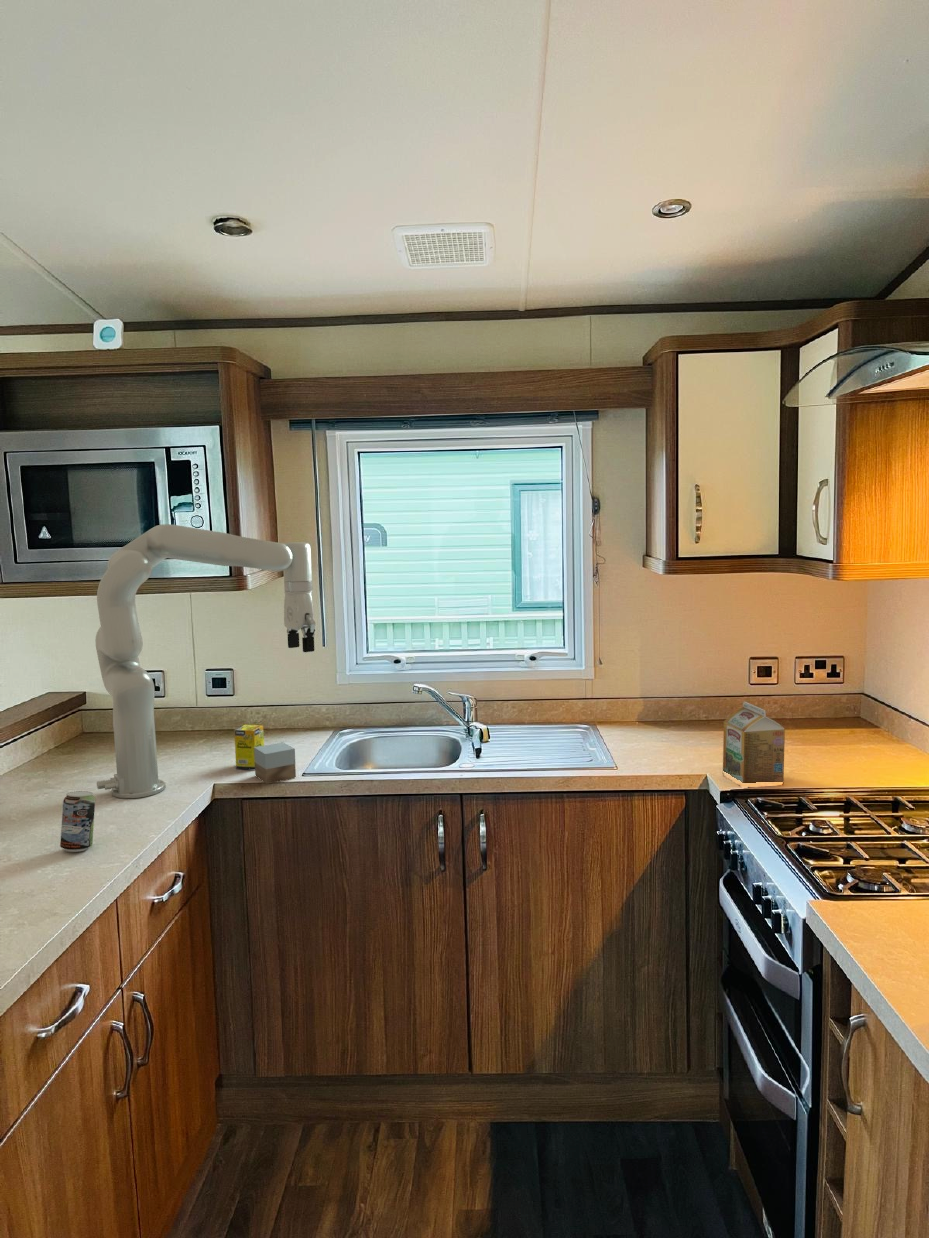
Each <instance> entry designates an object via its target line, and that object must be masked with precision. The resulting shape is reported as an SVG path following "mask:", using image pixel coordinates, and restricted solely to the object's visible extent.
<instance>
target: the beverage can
mask: <svg viewBox="0 0 929 1238" xmlns="http://www.w3.org/2000/svg"><path fill="white" fill-rule="evenodd" d="M93 794H94V793H93V792H92V791H87V790H74V791H69V792H67V793H66V796H65V797H64V799H63V800H62V815H61V827H60V829H61V831H60V845H59V846H60V848H61V849H63V850H64V851H65V852H73V853H76V852H77V853H79V852H83V851H87V850H88V849H89V848H91V847H92V846H93V839H94V826H95V808H96V807H95V806H96V798H95V797H94V795H93Z"/></svg>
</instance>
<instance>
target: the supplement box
mask: <svg viewBox="0 0 929 1238" xmlns="http://www.w3.org/2000/svg"><path fill="white" fill-rule="evenodd" d="M264 735H265V734H264V725H261V724H260V725H257V724H256V725H255V724H243V725H242V726H240V727H239V728H236V729H234V750H235V751H234V752H235V769H236V770H249V769H255V759H254V747H258V746H264V745H265V740H264V739H265V738H264Z"/></svg>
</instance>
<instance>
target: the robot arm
mask: <svg viewBox="0 0 929 1238" xmlns="http://www.w3.org/2000/svg"><path fill="white" fill-rule="evenodd" d="M311 551H312V550H311V545H310V544H309V542H305V541H294V542H293V541H291V542H286V543H281V542H276V541H270V540H263V539H257V538H250V537H246V536H245V537H244V536H239V535H235V534H230V533H225V532H221V531H216V530H215V531H213V530H208V529H203V528H197V527H190V526H184V525H177V524H159V525H155V526H154V527H152V528H150V529H148V530H147V531H145V532H144V533H142V534H140V535H139V536H138V537H136V538H135V539H133V540H132V541H130V542H128V543H127V544H126V545H124V546H122V547H121V548H119V549H117V550H116V551H115V552H114V553H112V555H110V557H109V559H108V561H107V569H106V570H105V572H104V573H103V576H102V577H101V579H100V580H99V583H98V588H97V593H96V604H97V610H98V619H99V623H100V626H99V628H98V630H97V632H96V634H95V650H96V654H97V660H98V665H99V669H100V673H101V678H102V682H103V683H102V684H103V686H104V689H105V690H106V691H107V692H108V694H110V696H111V697H112V725H113V727H112V728H113V735H114V737H113V739H114V749H115V750H114V751H115V763H116V765H115V766H116V773H113V777H110V778H109V779H107V780H105V779H104V780H99V781H96V789H97V790H102V789H104V790H105V791H106V790H111V796H113V797H115V798H119V799H138V798H139V799H140V798H144V797H149V796H153V795H157V794H158V793H160V792H162V791H164V790H165V788H166V782H165V781H164V780H162V779H160V778H159V770H158V756H157V755H158V753H157V752H158V751H157V737H156V727H155V694H156V693H155V690H156V689H155V683H154V681H153V678H152V676H151V675H150V674H149V672H147V670H145V669H144V668H142V667H141V664H140V660H139V656H140V654H141V653H142V649H143V646H144V645H143V644H144V643H143V637H142V632H141V628H140V623H139V619H138V613H137V606H136V595H137V592H138V589H140V586H142V584H144V583H145V582H146V581H148V579H149V577H151V574H152V571H153V570H152V569H153V568H155V567H156V566H157V565H159V564H160V563H162V562H164V561H165V560H166V559H169V560H170V559H172V560H179V561H185V562H193V563H199V564H201V563H202V564H208V565H214V566H220V567H222V566H223V567H243V568H250V569H251V568H252V569H259V570H263V571H270V572H277V573H279V572H283V589H284V592H283V593H284V601H283V604H284V605H283V625H284V627H286V633H287V648H289V649H292V648H293V649H294V648H299V647H300V633H299V632H298V631H300V630H301V633H302V638H301V639H302V640H301V641H302V652H303V653H310V652H311V653H312V652H315V631H316V629H315V628H316V621H315V616H314V608H313V607H314V605H313V597H312V593H313V574H312V553H311Z"/></svg>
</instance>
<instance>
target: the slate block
mask: <svg viewBox="0 0 929 1238" xmlns="http://www.w3.org/2000/svg"><path fill="white" fill-rule="evenodd" d="M254 759H255V763H257V764H258V765H260V766H262V767H263V768H265V769H271V768H276V767H281V766H286V765H291V764H295V765H296V749H295V747H293V746H291V745H289V744H287V743H285V742H284V741H283V742H276V743H270V744H266V745H265V744H264V746H258V747H254Z"/></svg>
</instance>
